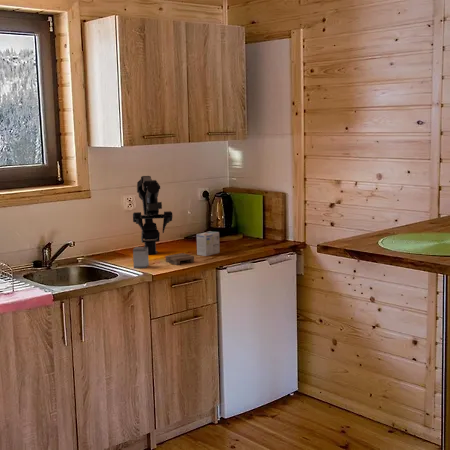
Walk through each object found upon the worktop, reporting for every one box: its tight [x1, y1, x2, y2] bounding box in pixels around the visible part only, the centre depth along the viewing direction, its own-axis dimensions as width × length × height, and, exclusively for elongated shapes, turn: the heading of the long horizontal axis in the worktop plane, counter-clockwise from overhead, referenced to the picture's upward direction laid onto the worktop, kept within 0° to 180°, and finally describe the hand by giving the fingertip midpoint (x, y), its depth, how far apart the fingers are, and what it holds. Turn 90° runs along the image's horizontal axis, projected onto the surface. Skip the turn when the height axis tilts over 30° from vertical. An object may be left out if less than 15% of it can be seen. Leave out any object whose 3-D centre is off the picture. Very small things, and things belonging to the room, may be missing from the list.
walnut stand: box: [164, 252, 195, 266], centre depth 332 cm, size 10×10×3 cm
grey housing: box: [132, 246, 150, 269], centre depth 324 cm, size 6×6×9 cm
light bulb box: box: [196, 230, 221, 257], centre depth 350 cm, size 11×7×11 cm, turn 141°
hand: (153, 232), depth 328 cm, fingers open, 9 cm apart
